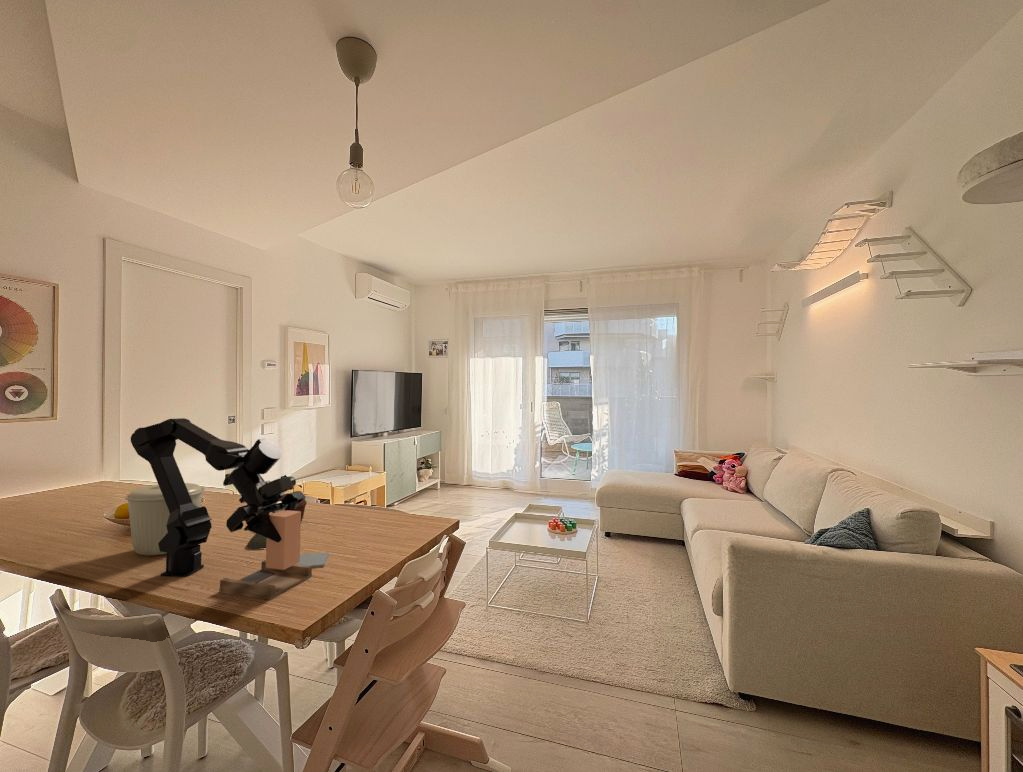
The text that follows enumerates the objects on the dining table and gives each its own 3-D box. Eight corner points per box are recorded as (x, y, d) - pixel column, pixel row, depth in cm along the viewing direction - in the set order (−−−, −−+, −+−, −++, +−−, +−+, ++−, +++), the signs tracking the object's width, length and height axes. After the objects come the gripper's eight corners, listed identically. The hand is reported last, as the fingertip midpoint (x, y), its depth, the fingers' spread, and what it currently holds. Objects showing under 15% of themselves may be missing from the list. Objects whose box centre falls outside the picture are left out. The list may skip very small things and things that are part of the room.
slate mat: (286, 569, 111) (286, 567, 111) (293, 557, 119) (293, 555, 119) (323, 566, 113) (323, 564, 113) (328, 554, 122) (328, 552, 122)
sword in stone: (259, 552, 123) (259, 509, 124) (241, 549, 126) (241, 508, 127) (290, 541, 132) (290, 502, 133) (272, 539, 136) (272, 500, 136)
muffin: (281, 517, 158) (282, 490, 158) (312, 518, 157) (312, 490, 158) (263, 527, 146) (263, 498, 146) (295, 528, 146) (296, 498, 146)
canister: (145, 541, 130) (148, 471, 131) (213, 537, 135) (216, 470, 135) (105, 564, 113) (109, 483, 113) (185, 558, 117) (188, 480, 118)
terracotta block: (265, 567, 100) (267, 515, 100) (282, 559, 104) (283, 509, 105) (283, 569, 98) (285, 517, 99) (299, 561, 103) (301, 511, 104)
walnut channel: (219, 591, 98) (219, 580, 98) (265, 570, 110) (265, 559, 110) (270, 600, 94) (270, 588, 94) (311, 576, 107) (312, 565, 107)
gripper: (238, 470, 94) (278, 526, 91) (300, 459, 112) (335, 505, 109) (208, 504, 96) (247, 560, 93) (274, 487, 114) (308, 533, 111)
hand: (288, 537), depth 101 cm, fingers closed on terracotta block, 5 cm apart
